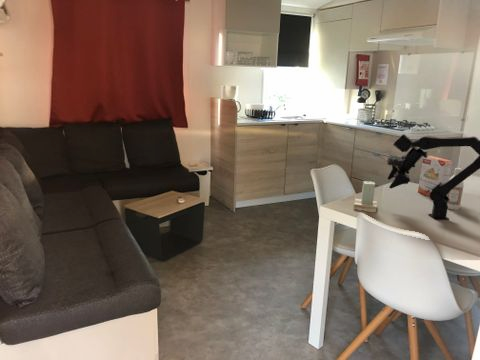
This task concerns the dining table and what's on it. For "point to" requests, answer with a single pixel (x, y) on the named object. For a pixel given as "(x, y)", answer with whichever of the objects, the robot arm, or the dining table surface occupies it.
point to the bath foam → (455, 193)
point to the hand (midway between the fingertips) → (389, 183)
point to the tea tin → (368, 192)
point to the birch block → (365, 206)
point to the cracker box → (433, 173)
